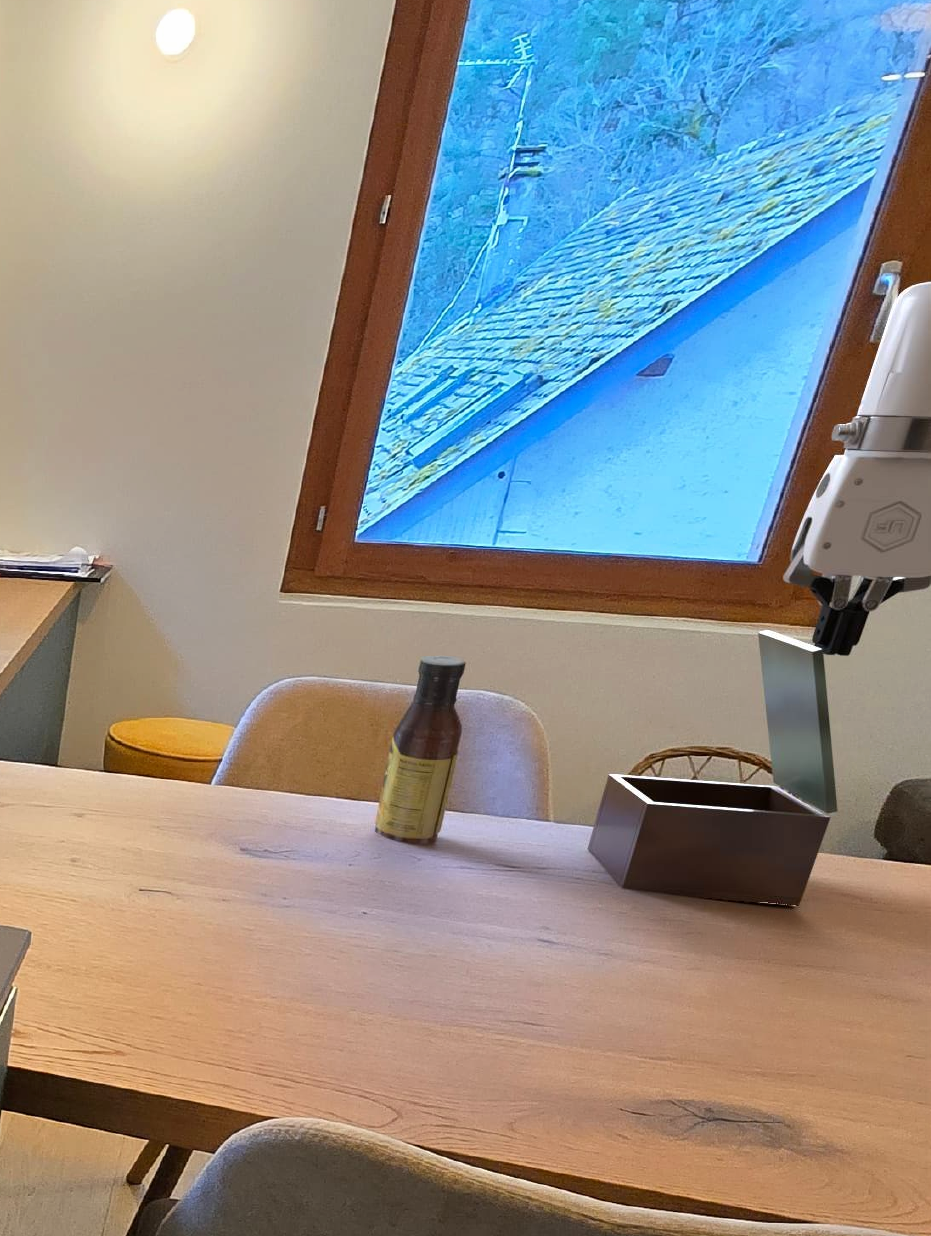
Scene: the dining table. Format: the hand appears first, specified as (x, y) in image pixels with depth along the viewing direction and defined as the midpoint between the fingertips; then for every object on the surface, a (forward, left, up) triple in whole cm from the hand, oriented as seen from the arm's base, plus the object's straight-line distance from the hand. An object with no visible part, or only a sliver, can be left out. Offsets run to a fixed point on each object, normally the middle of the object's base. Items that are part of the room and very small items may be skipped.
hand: (830, 652), depth 124 cm
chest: (+6, 0, -23) cm, 23 cm away
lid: (+1, 0, -6) cm, 7 cm away
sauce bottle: (+31, -4, -23) cm, 38 cm away
